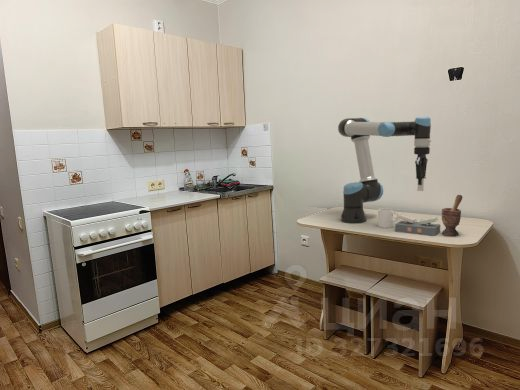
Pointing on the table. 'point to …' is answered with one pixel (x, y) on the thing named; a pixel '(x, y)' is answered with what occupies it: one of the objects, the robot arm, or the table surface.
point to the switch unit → (417, 228)
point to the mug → (386, 217)
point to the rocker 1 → (407, 218)
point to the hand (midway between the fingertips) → (420, 190)
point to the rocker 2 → (428, 220)
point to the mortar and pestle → (452, 218)
